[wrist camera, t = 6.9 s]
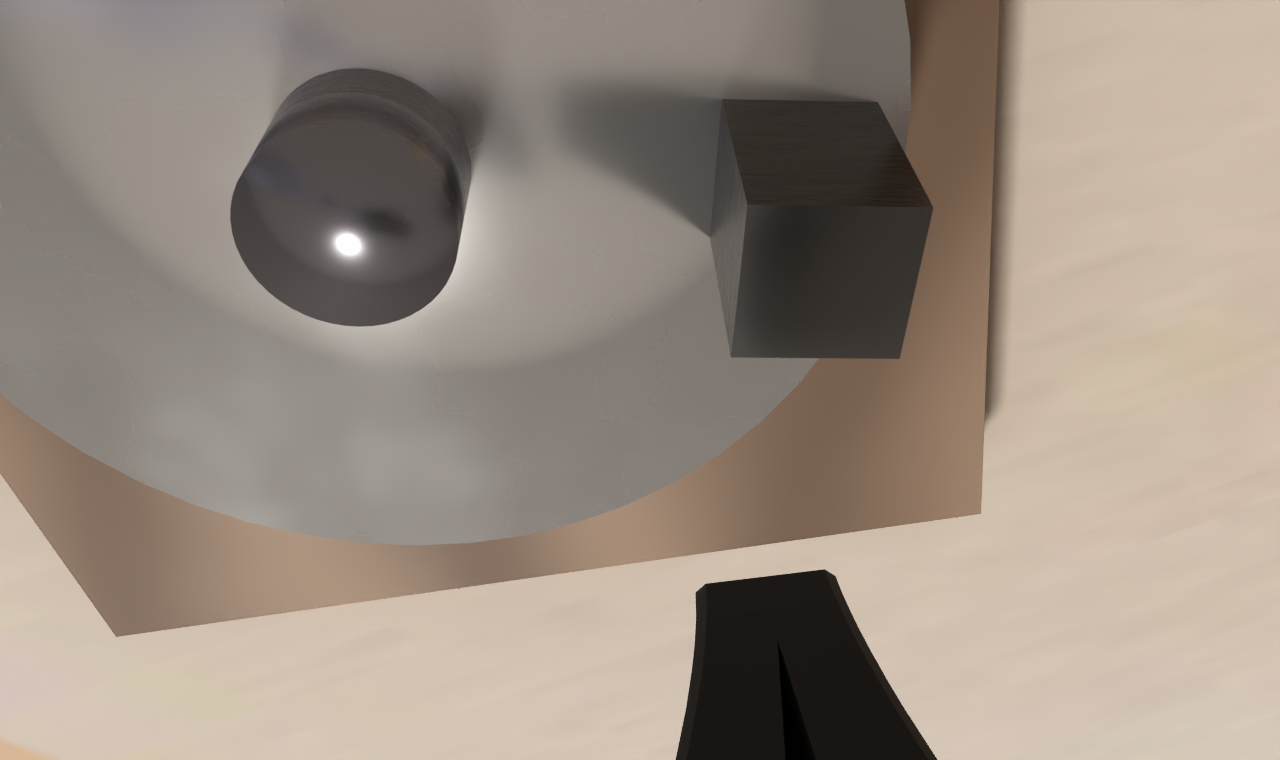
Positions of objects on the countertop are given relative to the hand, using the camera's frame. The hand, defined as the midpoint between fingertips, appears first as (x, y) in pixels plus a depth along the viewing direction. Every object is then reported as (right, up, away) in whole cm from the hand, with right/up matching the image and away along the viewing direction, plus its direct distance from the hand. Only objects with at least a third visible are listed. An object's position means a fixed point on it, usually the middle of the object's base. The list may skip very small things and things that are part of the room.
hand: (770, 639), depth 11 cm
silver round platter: (-5, +7, +3) cm, 9 cm away
